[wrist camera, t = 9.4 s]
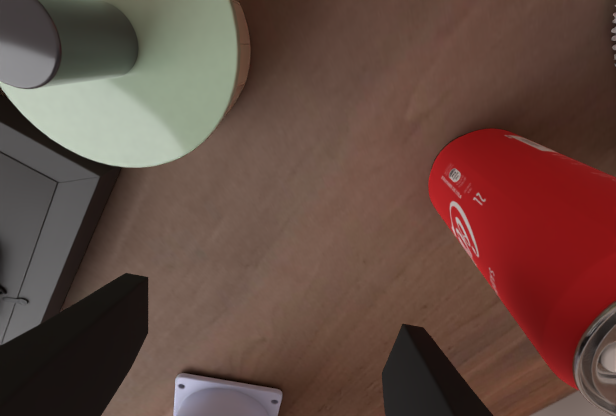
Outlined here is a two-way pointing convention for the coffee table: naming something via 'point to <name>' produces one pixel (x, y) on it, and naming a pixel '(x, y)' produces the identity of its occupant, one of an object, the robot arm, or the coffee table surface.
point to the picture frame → (42, 220)
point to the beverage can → (539, 247)
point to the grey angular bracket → (615, 37)
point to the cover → (121, 73)
